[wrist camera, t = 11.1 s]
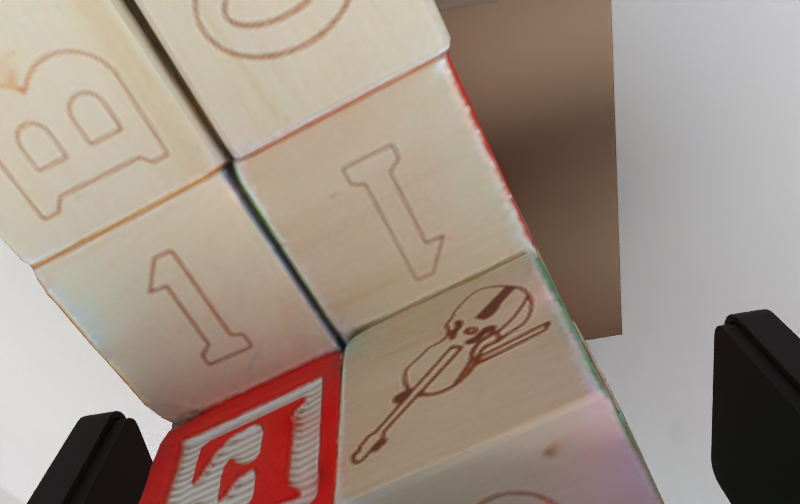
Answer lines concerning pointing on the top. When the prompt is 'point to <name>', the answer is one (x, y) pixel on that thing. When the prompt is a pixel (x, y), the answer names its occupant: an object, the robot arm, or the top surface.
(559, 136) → the walnut base brick
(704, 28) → the top surface
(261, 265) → the stack of blocks
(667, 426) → the top surface
